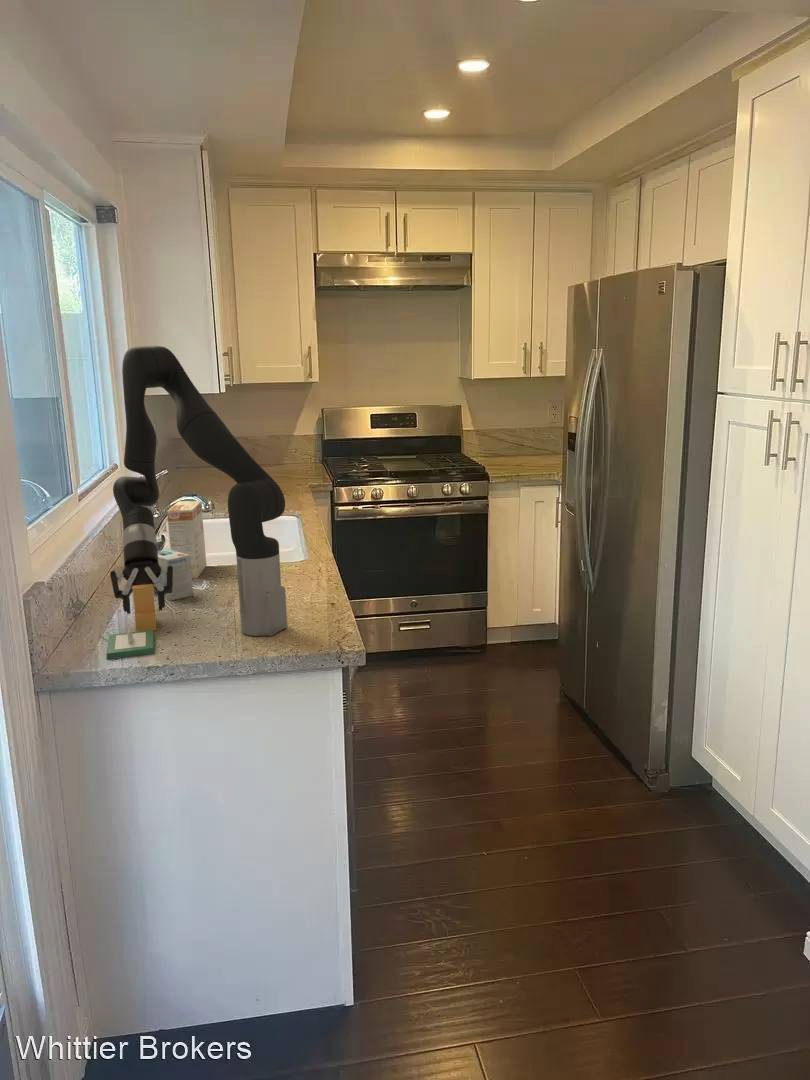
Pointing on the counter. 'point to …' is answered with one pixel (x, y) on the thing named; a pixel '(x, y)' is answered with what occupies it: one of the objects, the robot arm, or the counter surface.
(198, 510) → the coffeecake box
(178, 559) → the light bulb box
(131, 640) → the board
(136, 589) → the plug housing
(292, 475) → the counter surface
